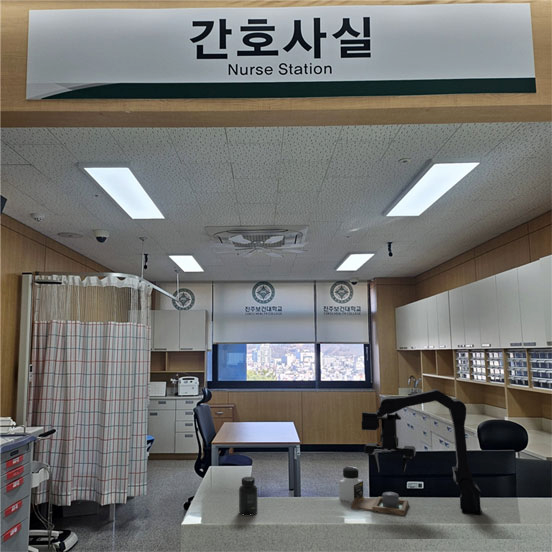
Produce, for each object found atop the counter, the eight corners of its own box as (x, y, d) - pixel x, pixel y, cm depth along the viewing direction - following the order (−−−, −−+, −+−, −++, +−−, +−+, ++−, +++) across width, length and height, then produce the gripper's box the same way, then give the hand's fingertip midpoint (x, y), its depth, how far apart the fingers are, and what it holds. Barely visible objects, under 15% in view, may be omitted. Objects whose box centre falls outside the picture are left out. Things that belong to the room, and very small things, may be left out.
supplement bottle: (260, 509, 181) (259, 476, 182) (254, 516, 174) (254, 482, 176) (242, 508, 183) (242, 475, 184) (236, 515, 176) (236, 480, 177)
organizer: (408, 504, 185) (408, 500, 185) (404, 515, 174) (404, 510, 174) (358, 498, 192) (357, 494, 192) (351, 508, 181) (351, 503, 182)
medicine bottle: (354, 503, 187) (353, 471, 189) (338, 499, 192) (338, 468, 193) (363, 498, 193) (362, 467, 194) (348, 494, 197) (347, 464, 199)
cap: (400, 505, 183) (399, 492, 184) (397, 511, 178) (397, 497, 178) (384, 503, 185) (383, 490, 186) (381, 509, 180) (380, 495, 180)
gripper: (416, 428, 190) (418, 469, 189) (368, 425, 197) (370, 465, 196) (413, 434, 180) (415, 477, 178) (363, 431, 187) (364, 473, 185)
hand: (390, 473), depth 185 cm, fingers open, 9 cm apart
